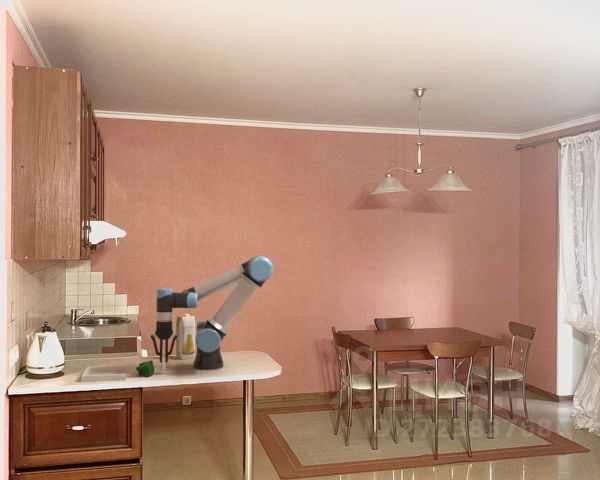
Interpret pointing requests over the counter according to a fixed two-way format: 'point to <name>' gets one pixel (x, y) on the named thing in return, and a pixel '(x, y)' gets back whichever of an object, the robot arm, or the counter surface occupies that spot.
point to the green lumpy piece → (146, 368)
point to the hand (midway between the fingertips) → (163, 369)
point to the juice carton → (185, 337)
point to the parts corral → (88, 378)
